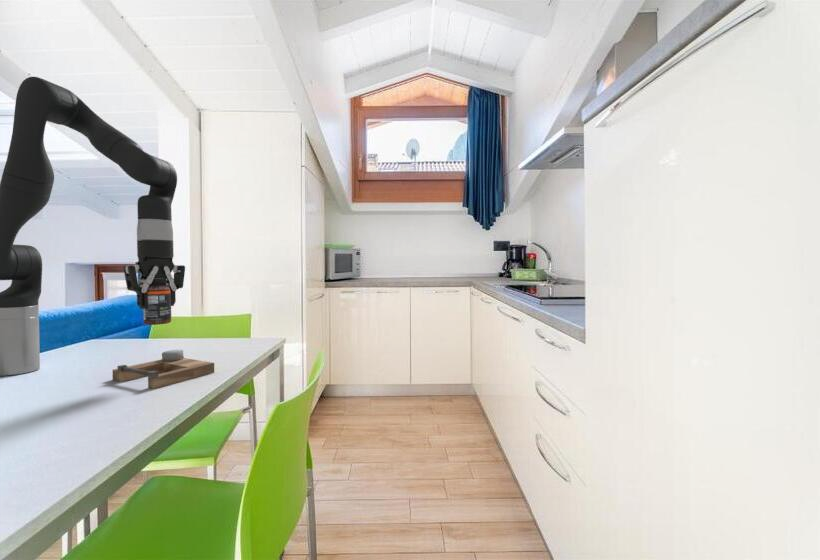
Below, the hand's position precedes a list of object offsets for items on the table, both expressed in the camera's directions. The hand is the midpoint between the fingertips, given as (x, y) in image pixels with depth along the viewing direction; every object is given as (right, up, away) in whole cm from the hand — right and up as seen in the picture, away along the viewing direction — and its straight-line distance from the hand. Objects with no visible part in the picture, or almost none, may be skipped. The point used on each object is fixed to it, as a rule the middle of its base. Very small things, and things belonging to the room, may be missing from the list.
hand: (157, 307), depth 98 cm
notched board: (0, -18, +3) cm, 18 cm away
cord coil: (-2, -15, +11) cm, 18 cm away
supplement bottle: (0, -4, 0) cm, 4 cm away
